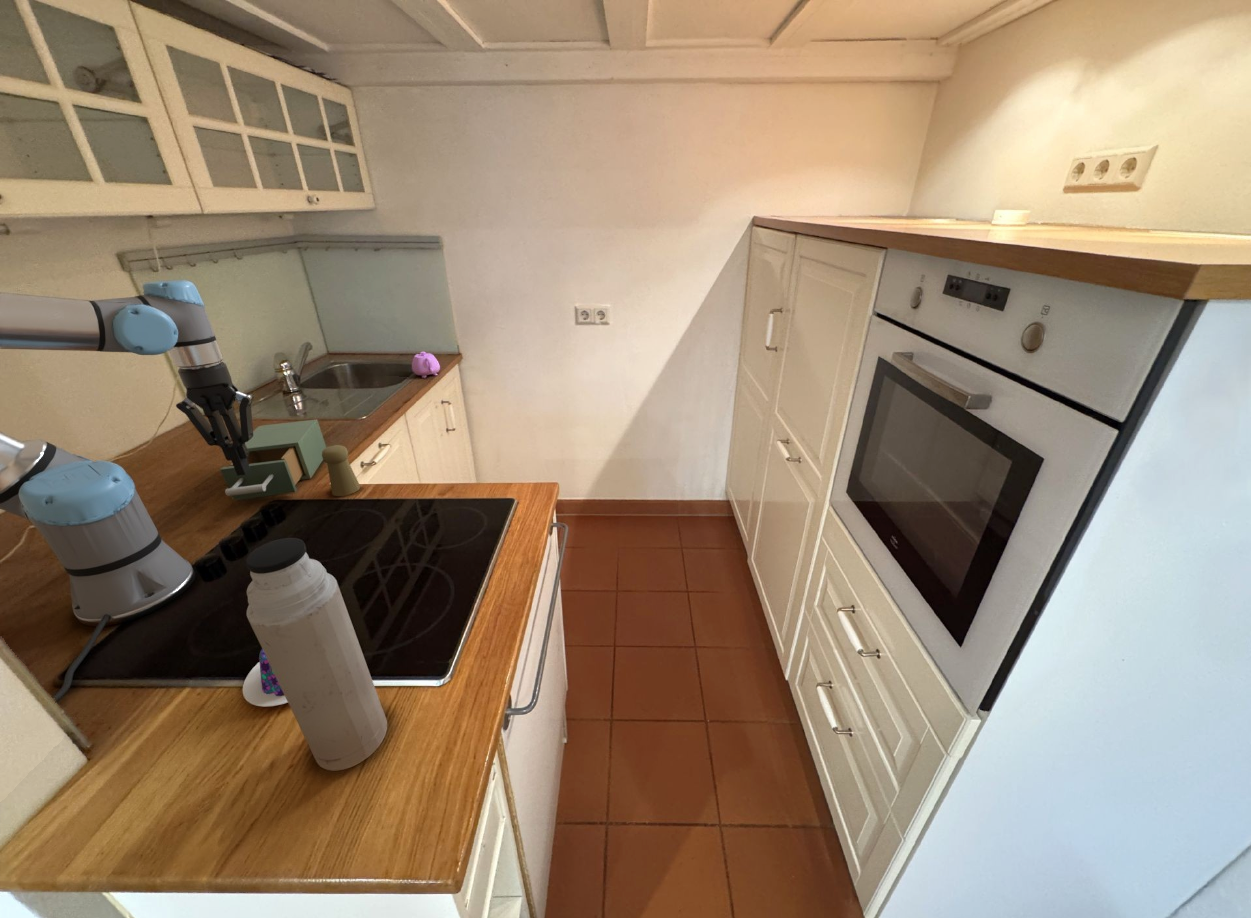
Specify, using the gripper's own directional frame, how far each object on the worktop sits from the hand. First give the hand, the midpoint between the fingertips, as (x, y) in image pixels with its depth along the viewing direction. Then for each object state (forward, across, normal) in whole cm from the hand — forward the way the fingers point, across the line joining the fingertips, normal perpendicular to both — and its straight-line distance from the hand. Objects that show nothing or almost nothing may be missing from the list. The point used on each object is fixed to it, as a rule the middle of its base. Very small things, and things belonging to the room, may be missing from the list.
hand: (244, 472), depth 107 cm
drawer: (+8, 0, -8) cm, 11 cm away
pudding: (+9, -23, +53) cm, 58 cm away
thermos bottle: (+9, -33, +66) cm, 74 cm away
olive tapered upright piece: (+9, -17, -3) cm, 20 cm away
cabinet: (+9, 0, -20) cm, 22 cm away
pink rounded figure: (+8, -26, -101) cm, 104 cm away
